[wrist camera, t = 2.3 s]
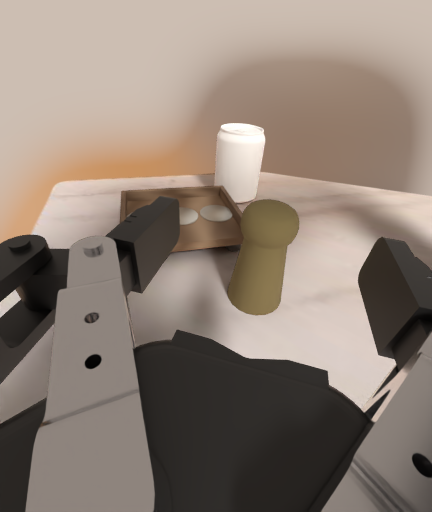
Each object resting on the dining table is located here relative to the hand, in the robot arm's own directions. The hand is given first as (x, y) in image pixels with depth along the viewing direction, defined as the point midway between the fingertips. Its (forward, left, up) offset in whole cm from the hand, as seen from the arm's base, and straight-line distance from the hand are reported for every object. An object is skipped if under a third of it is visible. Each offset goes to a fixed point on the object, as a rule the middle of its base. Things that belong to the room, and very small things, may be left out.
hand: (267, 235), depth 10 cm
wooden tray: (0, -24, -15) cm, 28 cm away
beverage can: (-12, -35, -15) cm, 40 cm away
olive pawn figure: (-6, -10, -15) cm, 19 cm away
